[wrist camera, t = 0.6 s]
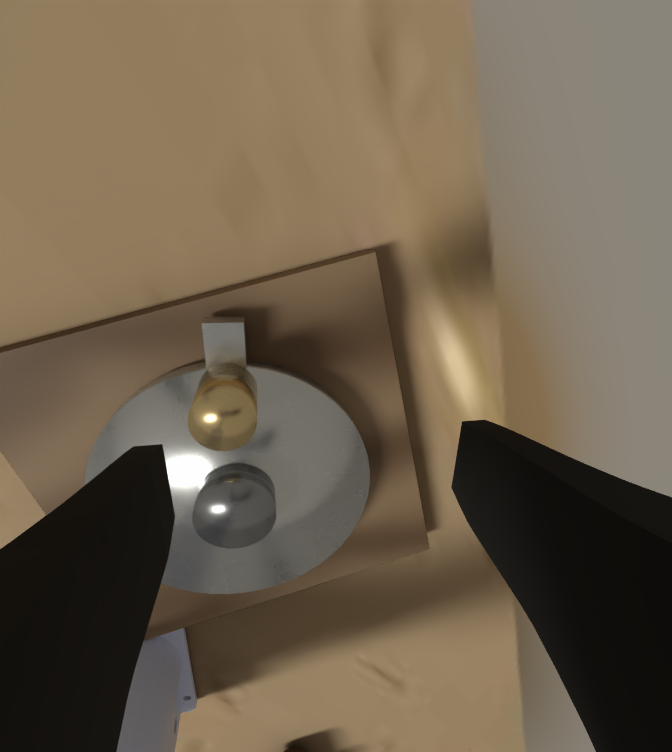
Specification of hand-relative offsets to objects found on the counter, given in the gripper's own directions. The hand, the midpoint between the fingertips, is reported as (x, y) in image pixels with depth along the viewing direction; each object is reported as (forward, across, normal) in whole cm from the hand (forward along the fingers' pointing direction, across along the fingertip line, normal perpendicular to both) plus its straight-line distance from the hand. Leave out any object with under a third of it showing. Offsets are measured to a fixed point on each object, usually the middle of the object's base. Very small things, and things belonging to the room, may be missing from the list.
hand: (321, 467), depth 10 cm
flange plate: (+9, +3, +7) cm, 12 cm away
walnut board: (+10, +3, +7) cm, 13 cm away
